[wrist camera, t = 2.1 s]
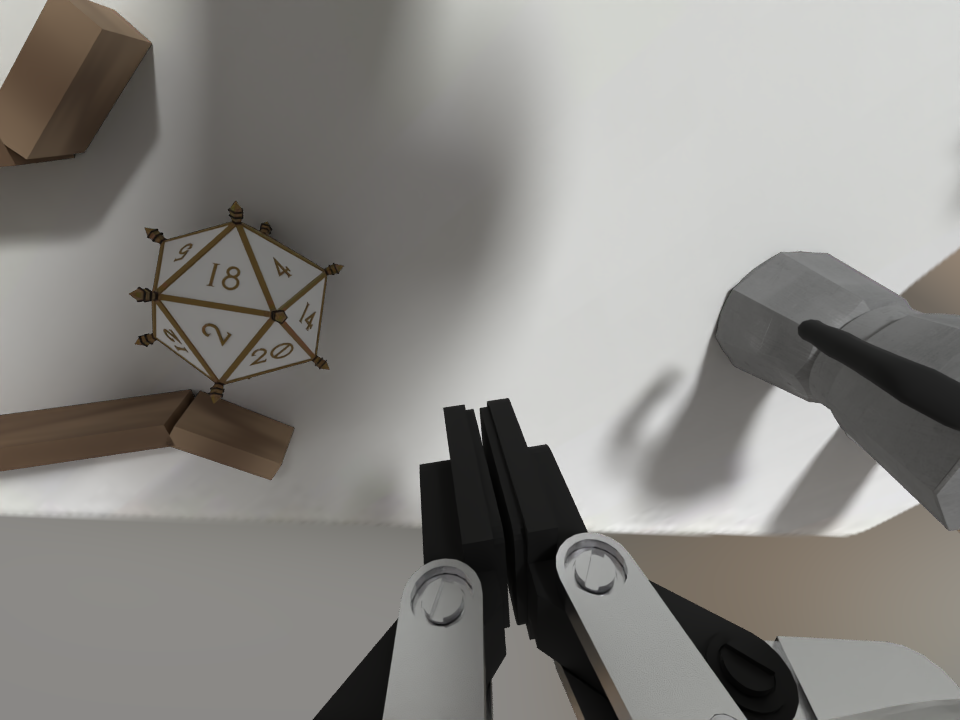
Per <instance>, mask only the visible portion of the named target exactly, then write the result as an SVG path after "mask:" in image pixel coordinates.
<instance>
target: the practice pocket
mask: <svg viewBox="0 0 960 720" xmlns="http://www.w3.org/2000/svg"><path fill="white" fill-rule="evenodd" d="M151 44H152V43H151V42H150V41H149V40H148V39H147V38H146V37H144V36H143V35H142V34H141V33H140V32H139V31H138V30H136V29H135V28H134V27H133V26H132V25H131V24H130V23H129V22H127V21H126V20H125V19H124V18H123V17H122V16H121V15H119V14H118V13H117V12H116V11H115V10H113V9H110V8H108V7H105V6H102V5H99V4H97V3H94V2H91V1H89V0H47V2H46V4H45V6H44V8H43V10H42V12H41V14H40V16H39V17H38V19H37V21H36V23H35V25H34V27H33V29H32V31H31V32H30V34H29V36H28V38H27V40H26V42H25V44H24V46H23V48H22V49H21V51H20V53H19V55H18V57H17V59H16V61H15V63H14V65H13V66H12V68H11V70H10V72H9V74H8V76H7V78H6V80H5V81H4V83H3V85H2V87H1V89H0V167H4V166H16V165H24V164H31V163H39V162H47V161H54V160H62V159H70V158H75V157H74V155H73V154H77V153H84V152H85V151H86V149H87V147H88V146H89V144H90V143H91V141H92V139H93V138H94V136H95V134H96V133H97V131H98V130H99V128H100V126H101V125H102V123H103V122H104V120H105V118H106V117H107V115H108V114H109V112H110V110H111V109H112V107H113V105H114V104H115V102H116V101H117V99H118V97H119V96H120V94H121V93H122V91H123V89H124V88H125V86H126V84H127V83H128V81H129V80H130V78H131V76H132V75H133V73H134V72H135V70H136V68H137V67H138V65H139V63H140V62H141V60H142V59H143V57H144V55H145V54H146V52H147V51H148V49H149V47H150V46H151ZM293 430H294V428H293V427H291V426H288V425H286V424H283V423H281V422H278V421H276V420H273V419H270V418H268V417H265V416H263V415H260V414H258V413H255V412H253V411H250V410H248V409H245V408H243V407H240V406H237V405H235V404H232V403H230V402H227V401H225V400H222V399H219V400H218V401H216V402H215V403H213V401H212V399H211V396H210V395H209V394H207V393H205V392H202V391H200V392H199V393H198V394H197V396H196V397H194V395H193V393H192V391H191V390H184V391H176V392H169V393H161V394H154V395H147V396H139V397H132V398H124V399H117V400H109V401H102V402H95V403H87V404H80V405H72V406H65V407H57V408H50V409H43V410H35V411H28V412H20V413H13V414H5V415H0V471H6V470H13V469H20V468H27V467H34V466H40V465H47V464H54V463H61V462H68V461H74V460H81V459H88V458H95V457H102V456H108V455H115V454H122V453H129V452H136V451H143V450H149V449H156V448H163V447H173V448H176V449H179V450H182V451H185V452H188V453H191V454H194V455H197V456H200V457H203V458H206V459H209V460H212V461H215V462H218V463H221V464H224V465H227V466H230V467H233V468H236V469H239V470H242V471H245V472H248V473H251V474H254V475H257V476H260V477H263V478H266V479H269V480H272V478H273V477H274V475H275V474H276V472H277V471H278V469H279V468H280V466H281V465H282V462H283V459H284V456H285V453H286V450H287V448H288V445H289V442H290V439H291V436H292V433H293Z"/></svg>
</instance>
